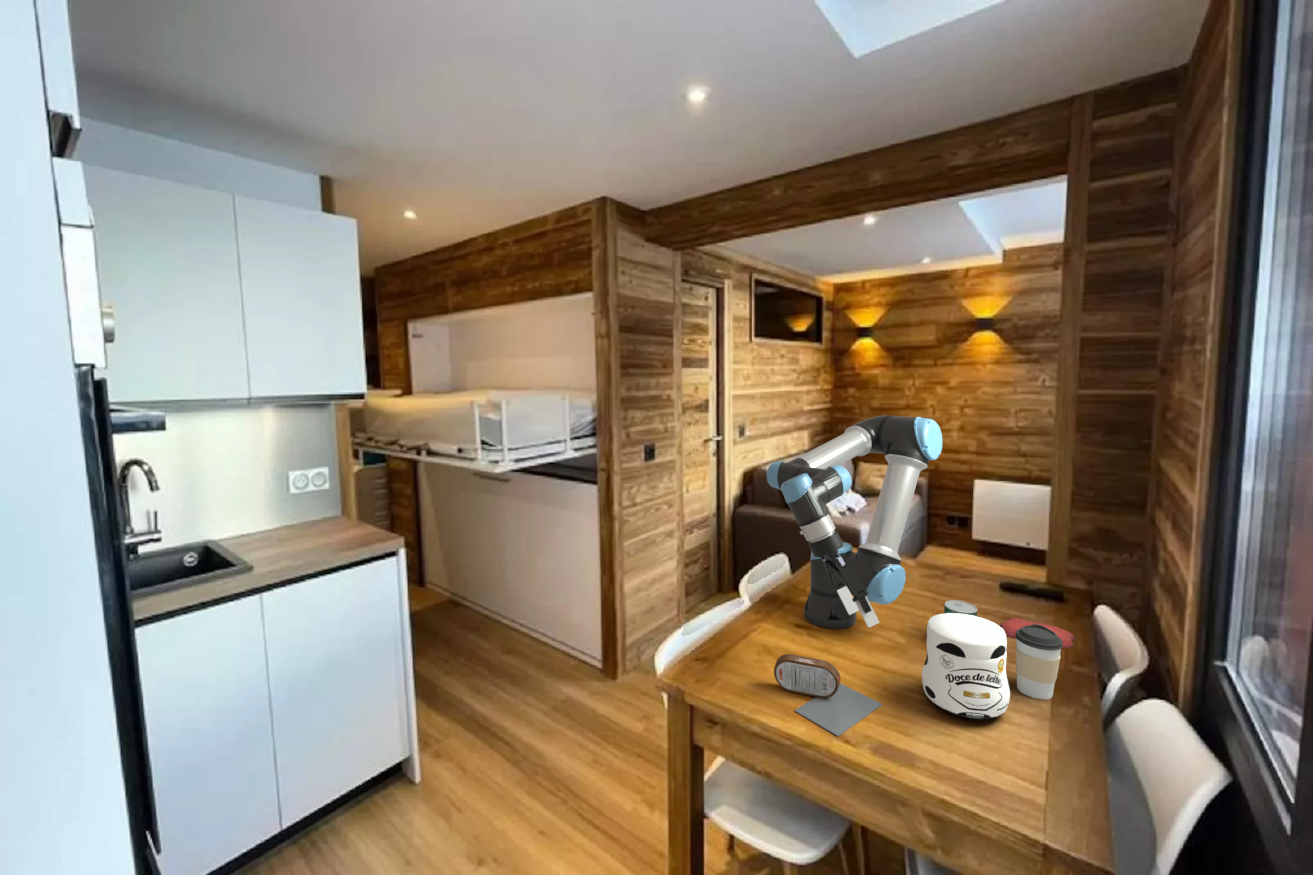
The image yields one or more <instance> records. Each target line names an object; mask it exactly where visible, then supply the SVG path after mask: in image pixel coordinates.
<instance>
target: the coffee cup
mask: <svg viewBox="0 0 1313 875" xmlns="http://www.w3.org/2000/svg"><path fill="white" fill-rule="evenodd" d="M1015 637H1016V644H1015V671H1016V688H1017V690H1018V691H1019V692H1020V693H1022V694H1024V695H1026V696H1027V697H1030V698H1033V699H1036V700H1050V699H1052V698H1053V695H1054V690H1055V684H1056V681H1057V678H1058V674H1059V666H1060V662H1061V651H1062V649H1063V648H1062V647H1063V645H1062V643H1063V642H1062V640H1061V639H1060V638H1059V637H1058V636H1057V634H1056V633H1055V632H1053V631H1051V630H1049V629H1047V628H1046V627H1044V626H1042V625H1037V624H1032V625H1028V626H1023V627H1022V628H1021V629H1018V630H1017V631H1016V635H1015Z"/></svg>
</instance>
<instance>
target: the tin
mask: <svg viewBox="0 0 1313 875" xmlns="http://www.w3.org/2000/svg"><path fill="white" fill-rule="evenodd" d="M773 675H774V679H775V681H776V682H777V684H778V685H779V686H780V687H781V688H782V689H784V690H786V691H788V692H792V693H796V694H802V695H806V696H812V697H814V698H815V697H820V698H829V697H831V696H833V695H834V694H835V693H836V692H837V690H838V688H839V685H840V683H841V679H842V678H841V674H840V672H839V670H838V669H837V668H836V666H835V665H834V664H832V663H831V662H829V661H827V660H826V659H825V660H824V659H820V658H814V657H810V656H803V655H797V654H792V653H788V654H787V653H785V654H783V655H780V656H779V657H778V658H777V659H776V661H775V664H774V667H773Z"/></svg>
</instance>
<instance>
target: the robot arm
mask: <svg viewBox="0 0 1313 875" xmlns="http://www.w3.org/2000/svg"><path fill="white" fill-rule="evenodd" d="M942 450H943V434H942V431H941V428H940V426H939V424H938V423H937V421H935V420H934V419H933V418H926V417H921V416H916V417H915V416H903V415H900V416H899V415H889V414H888V415H887V414H886V415H885V414H884V415H883V414H882V415H876V416H873V417H869V418H866V419H863V420H861V421H859V422H857V423H855V424H852V425H851V426H848V427H847V428H845V430H844V432H843V433H842V434H840V435H838V436H836V437H835V438H832V439H831V440H829V441H826V442H825V443H823V444H821V445H819V446H817V447H815V448H813V449H812V450H809V451H807V452H805V453H804V454H802V455H799V456H798V457H796V458H793V459H792V460H789V461H787V462H785V461H774V462H772V463H771V464H770V465H769V466H768V469H767V471H766V480H767V483H768V485H769V486H770V487H772V488H774V489H777V490H780V491H781V492H782V494H783V497H784V500H785V503H786V504H787V505H788V507H789V509H790V511H791V513H792V514H793V517H794V519H795V520H796V523H797V524H798V526H799V528H800V529H801V530H800V531H799V534H800V535H801V536H802V535H803V537H804V538H805V540H806V541H807V542H808V547H809V549H810V550H811V553H810V577H809V578H810V579H809V580H810V588H809V593H808V596H807V598H806V600H805V603H804V607H803V617H804V618H805V620H806V621H807V622H809V623H811V624H812V625H815V626H818V627H820V628H826V629H835V630H837V629H846V628H847V629H848V628H850V627H852V626H854V625H855V624H856V623H857V612H860V614H861V617H862V618H863V620H864V622H865V625H866V626H867V628H871V627H873V626H875V625H878V624H880V621H879V619H878V618H879V617H878V616H877V615H876V612H875V611H874V608H873V607H872V605H871V603H876V604H879V605H884V606H885V605H889V604H892V603H893V602H894V601H896V600H897V599H898V597H900V595H901V593H902V592H903V590H904V587H905V584H906V578H907V577H906V571H905V568H904V567H902V565H901V563H902V558H901V557H900V555H899V548H900V545H901V542H902V538H903V533H904V530H905V527H906V523H907V519H908V516H909V513H910V510H911V505H912V501H913V498H914V494H915V490H916V486H917V484H918V480H919V477H920V473H921V472H922V471H923V470H926V469H928V466H929V463H930V461H935V460H937V459H938V458H939V456H940V455H941V454H942ZM873 453H875V454H884V459H885V460H886V462H887V468H886V472H885V474H884V477H883V482H882V484H881V489H880V491H879V494H878V499H877V503H876V506H875V510H874V513H873V516H872V521H871V523H870V527H869V530H868V534H867V537H866V541H865V542H864V543H863V544H861V545H859V546H858V548H857V552H854V551H853V550H854V549H853V545H852V544H851V543H849V542H845V541H843V540H842V538H841V536H840V534H839V532H838V531H836V526H835V524H834V522H833V519H832V518H831V516H830V514H829V513H828V511H827V510H828V509H826V507H825V506H826V505H827V504H829V503H831V502H832V501H834V500H836V499H837V498H840V497H842V496H843V495H844V494H845V493H846V492H848V491H849V490H850V489H851V487H852V484H853V480H852V476H851V474H850V472H849V471H848V470H847V469H846V467H844V466H842V465H843V464H845V463H846V462H848V461H850V460H852V459H853V458H856V457H864V456H866V455H867V454H873Z"/></svg>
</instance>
